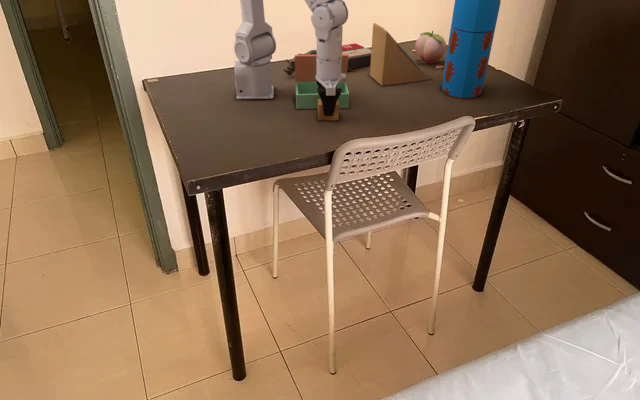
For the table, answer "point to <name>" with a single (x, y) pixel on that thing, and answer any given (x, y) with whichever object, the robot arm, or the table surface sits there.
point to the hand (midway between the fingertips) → (328, 111)
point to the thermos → (469, 47)
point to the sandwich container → (391, 60)
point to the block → (321, 114)
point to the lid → (313, 66)
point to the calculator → (357, 55)
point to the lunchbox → (317, 95)
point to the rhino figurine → (293, 64)
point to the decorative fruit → (430, 47)
